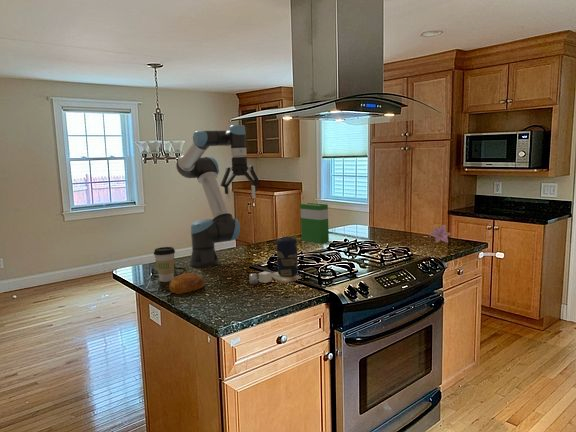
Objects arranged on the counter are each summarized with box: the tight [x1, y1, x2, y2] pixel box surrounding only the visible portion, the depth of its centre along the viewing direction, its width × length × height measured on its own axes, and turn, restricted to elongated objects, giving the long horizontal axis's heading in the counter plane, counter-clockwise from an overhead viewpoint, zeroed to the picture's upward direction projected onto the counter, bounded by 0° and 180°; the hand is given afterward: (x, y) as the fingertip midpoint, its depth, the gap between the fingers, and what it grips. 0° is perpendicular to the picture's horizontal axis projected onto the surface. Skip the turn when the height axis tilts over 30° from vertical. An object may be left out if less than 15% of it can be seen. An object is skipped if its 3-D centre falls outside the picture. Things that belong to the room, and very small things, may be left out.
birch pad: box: [271, 271, 302, 284], centre depth 208 cm, size 15×15×1 cm
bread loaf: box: [168, 272, 205, 295], centre depth 195 cm, size 14×16×8 cm
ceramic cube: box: [258, 271, 273, 284], centre depth 202 cm, size 4×4×4 cm
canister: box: [275, 236, 299, 276], centre depth 207 cm, size 10×10×18 cm
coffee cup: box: [153, 246, 176, 283], centre depth 210 cm, size 10×10×15 cm
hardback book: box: [299, 202, 330, 245], centre depth 289 cm, size 18×7×24 cm, turn 41°
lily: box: [428, 224, 452, 244], centre depth 273 cm, size 12×12×10 cm
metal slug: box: [248, 273, 259, 285], centre depth 200 cm, size 4×4×4 cm
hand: (241, 199), depth 225 cm, fingers open, 13 cm apart
